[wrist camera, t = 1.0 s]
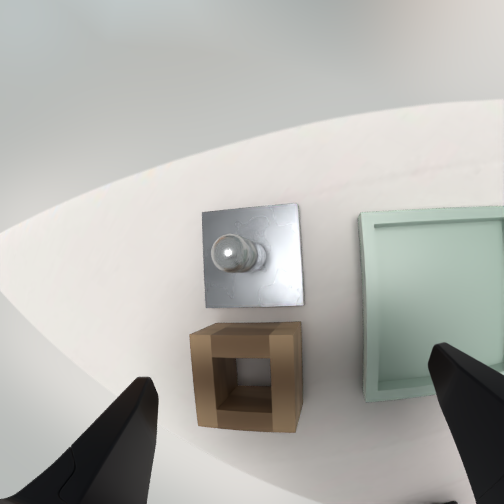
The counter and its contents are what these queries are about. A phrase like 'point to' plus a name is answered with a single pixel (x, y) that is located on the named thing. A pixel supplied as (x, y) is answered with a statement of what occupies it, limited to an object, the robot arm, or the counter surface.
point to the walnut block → (248, 397)
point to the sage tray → (429, 293)
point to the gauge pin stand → (253, 257)
